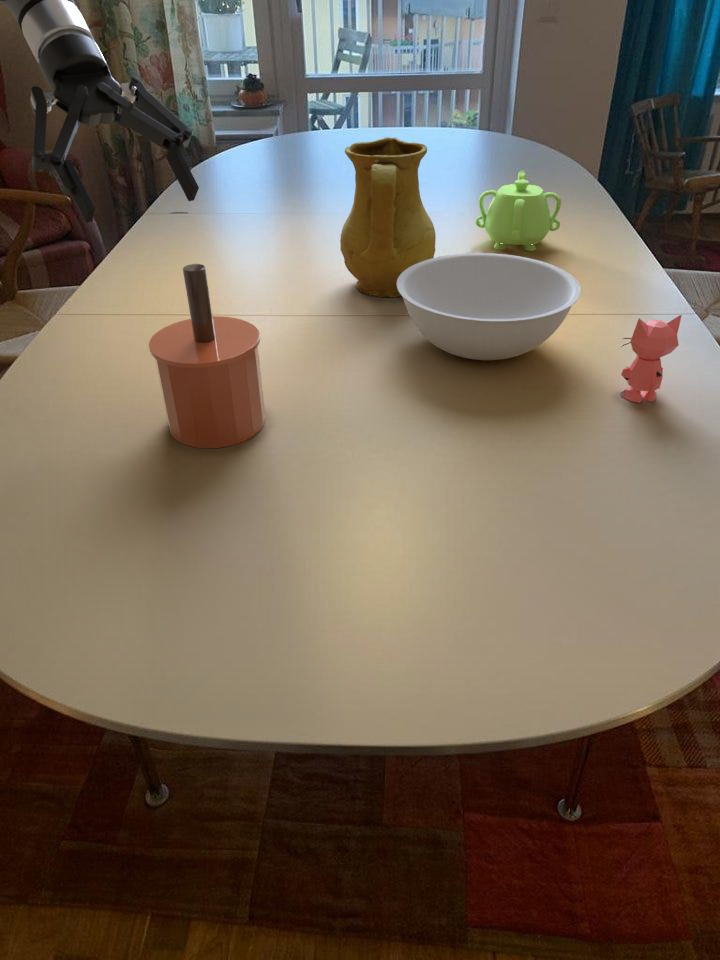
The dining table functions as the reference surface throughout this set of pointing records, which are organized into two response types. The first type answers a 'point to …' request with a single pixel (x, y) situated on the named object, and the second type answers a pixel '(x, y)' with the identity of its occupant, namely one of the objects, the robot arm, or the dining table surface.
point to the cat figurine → (649, 357)
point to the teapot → (518, 214)
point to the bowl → (487, 303)
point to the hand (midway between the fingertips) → (144, 205)
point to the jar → (213, 402)
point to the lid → (203, 331)
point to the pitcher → (386, 215)
